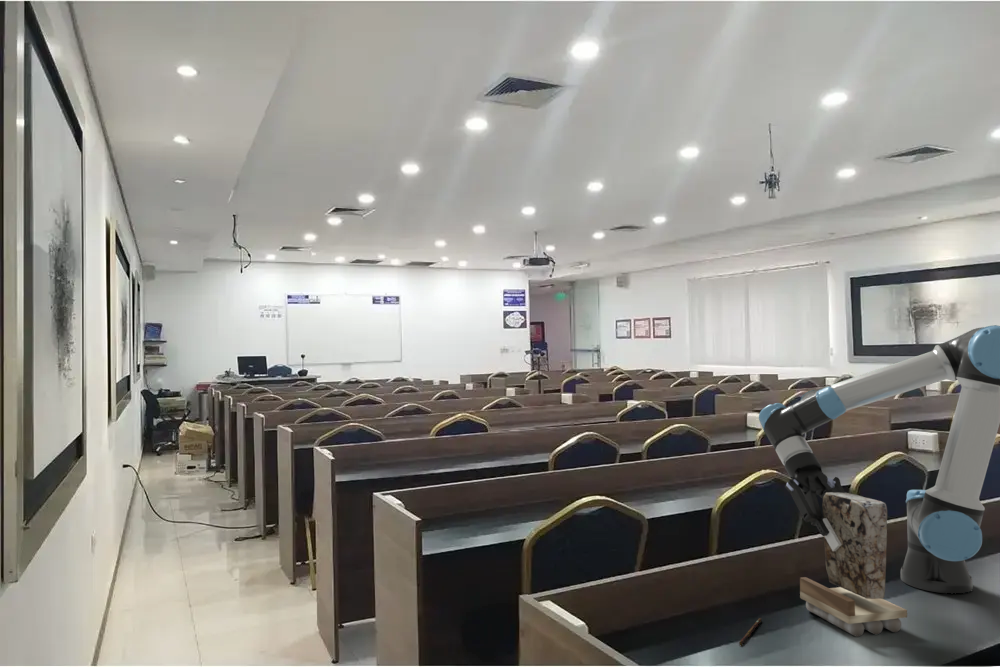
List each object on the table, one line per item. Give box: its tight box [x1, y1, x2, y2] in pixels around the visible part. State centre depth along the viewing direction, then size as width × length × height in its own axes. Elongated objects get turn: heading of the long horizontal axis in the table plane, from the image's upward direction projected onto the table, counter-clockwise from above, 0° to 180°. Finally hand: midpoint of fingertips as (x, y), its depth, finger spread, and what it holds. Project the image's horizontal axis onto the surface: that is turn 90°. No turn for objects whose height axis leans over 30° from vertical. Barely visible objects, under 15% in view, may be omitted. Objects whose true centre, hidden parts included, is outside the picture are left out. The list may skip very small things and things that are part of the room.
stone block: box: [822, 492, 888, 599], centre depth 146 cm, size 13×7×20 cm, turn 19°
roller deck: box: [799, 576, 908, 638], centre depth 145 cm, size 14×15×8 cm
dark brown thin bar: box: [738, 617, 762, 647], centre depth 140 cm, size 15×1×1 cm, turn 145°
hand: (849, 546), depth 147 cm, fingers closed on stone block, 5 cm apart
